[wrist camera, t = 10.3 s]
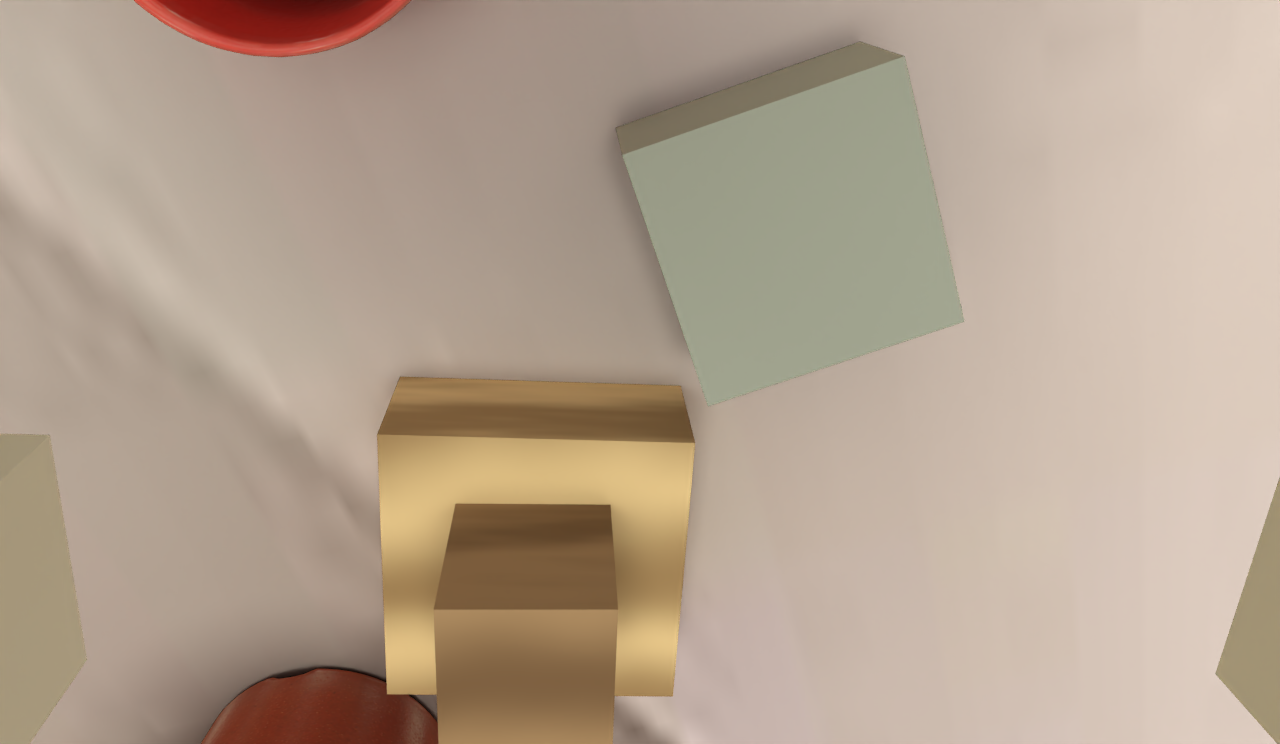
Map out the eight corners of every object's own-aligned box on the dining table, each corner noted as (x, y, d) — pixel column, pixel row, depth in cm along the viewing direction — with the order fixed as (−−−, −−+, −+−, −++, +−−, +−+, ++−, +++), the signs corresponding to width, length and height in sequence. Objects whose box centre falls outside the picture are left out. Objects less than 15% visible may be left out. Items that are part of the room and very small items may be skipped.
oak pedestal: (401, 373, 44) (377, 434, 39) (680, 382, 45) (694, 443, 40) (407, 609, 49) (386, 694, 43) (661, 613, 50) (672, 696, 44)
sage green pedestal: (615, 126, 41) (622, 155, 35) (858, 41, 40) (904, 56, 35) (691, 349, 45) (708, 406, 39) (915, 274, 44) (964, 321, 39)
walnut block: (455, 503, 40) (433, 609, 34) (610, 504, 41) (618, 609, 34) (458, 632, 42) (438, 755, 36) (605, 632, 43) (612, 753, 36)
